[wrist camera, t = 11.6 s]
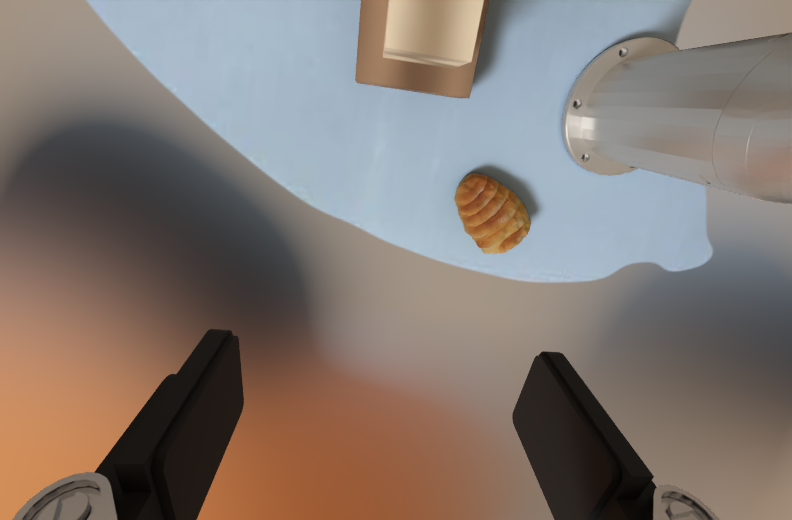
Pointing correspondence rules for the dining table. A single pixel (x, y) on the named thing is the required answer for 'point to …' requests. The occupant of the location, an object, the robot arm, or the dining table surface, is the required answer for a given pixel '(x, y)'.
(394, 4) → the maple cube
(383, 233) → the dining table surface
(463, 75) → the walnut base
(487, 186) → the pastry
